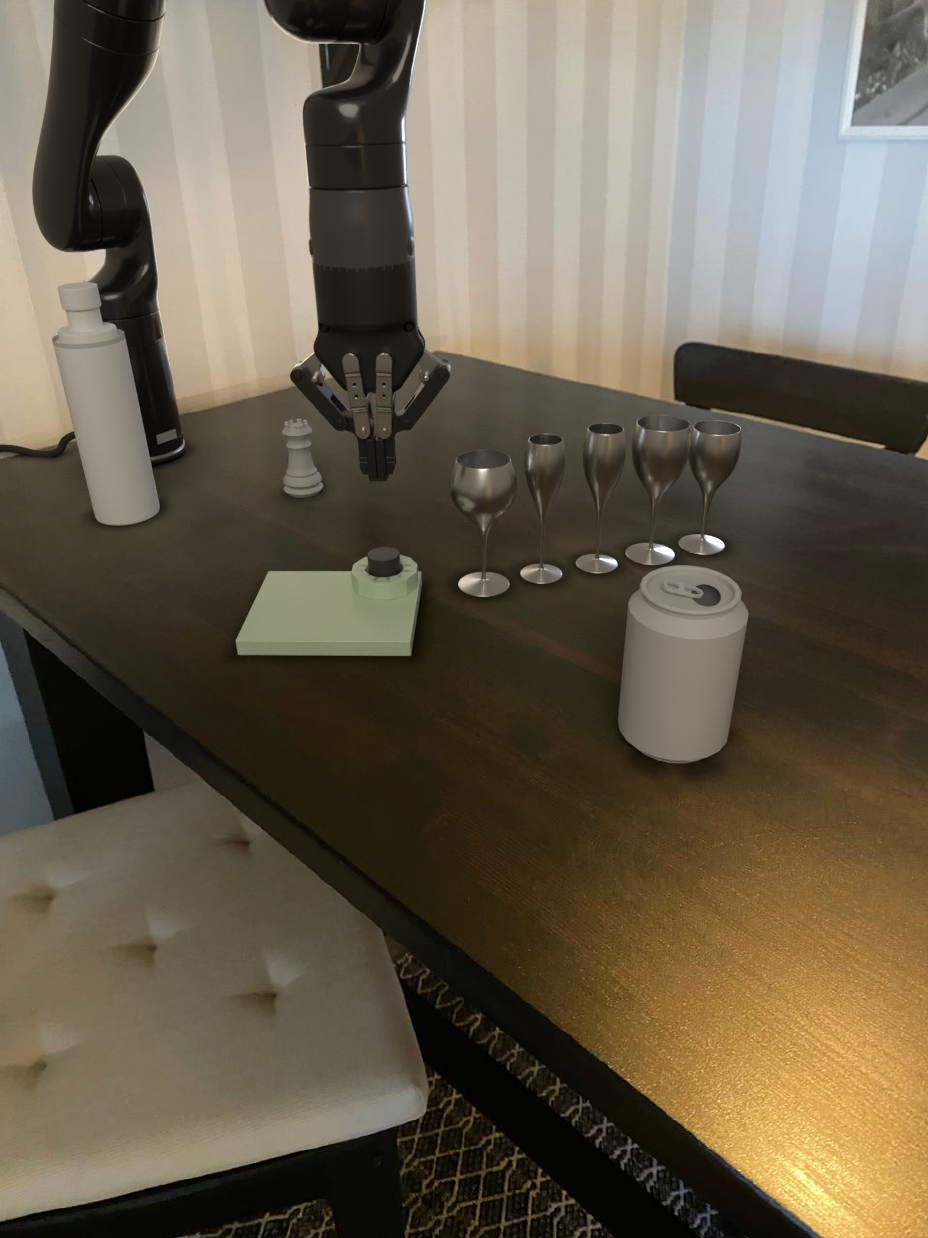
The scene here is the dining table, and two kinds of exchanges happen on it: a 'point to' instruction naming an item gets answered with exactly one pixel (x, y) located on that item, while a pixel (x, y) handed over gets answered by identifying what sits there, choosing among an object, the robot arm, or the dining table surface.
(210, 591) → the dining table surface
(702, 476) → the goblet set
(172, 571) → the dining table surface
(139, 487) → the grey bottle
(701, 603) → the can
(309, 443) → the rook chess piece
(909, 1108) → the dining table surface
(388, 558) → the button
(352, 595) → the scale
